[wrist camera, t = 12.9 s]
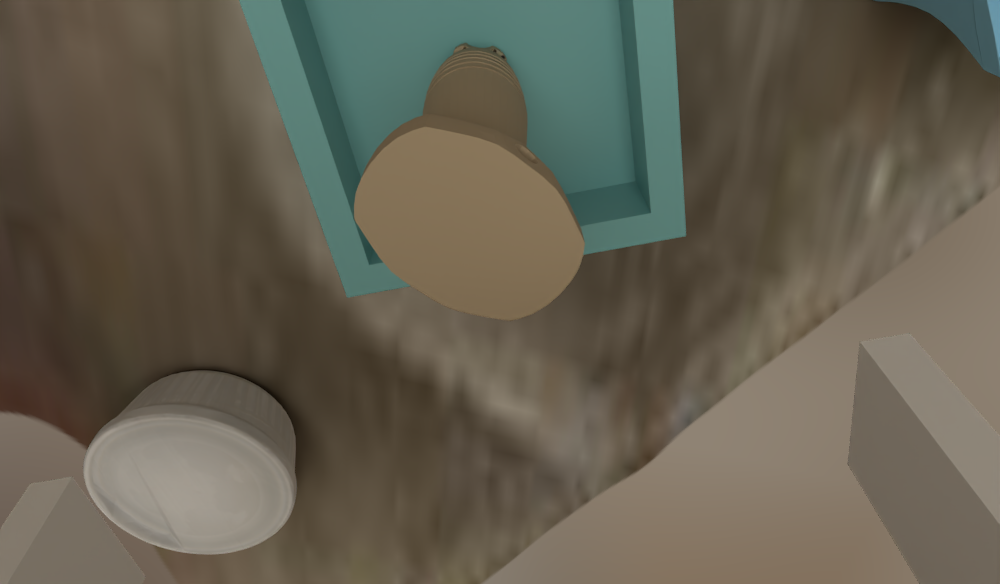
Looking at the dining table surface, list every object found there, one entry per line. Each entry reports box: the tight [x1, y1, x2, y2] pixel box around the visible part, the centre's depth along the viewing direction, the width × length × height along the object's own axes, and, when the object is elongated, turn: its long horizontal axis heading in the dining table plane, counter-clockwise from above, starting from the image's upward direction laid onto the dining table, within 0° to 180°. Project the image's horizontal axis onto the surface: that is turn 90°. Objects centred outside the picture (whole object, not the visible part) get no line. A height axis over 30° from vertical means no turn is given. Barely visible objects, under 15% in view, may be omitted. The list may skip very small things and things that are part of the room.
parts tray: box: [239, 0, 686, 298], centre depth 31 cm, size 16×16×4 cm
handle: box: [354, 43, 585, 321], centre depth 26 cm, size 5×6×15 cm
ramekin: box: [83, 370, 297, 554], centre depth 42 cm, size 11×11×5 cm
